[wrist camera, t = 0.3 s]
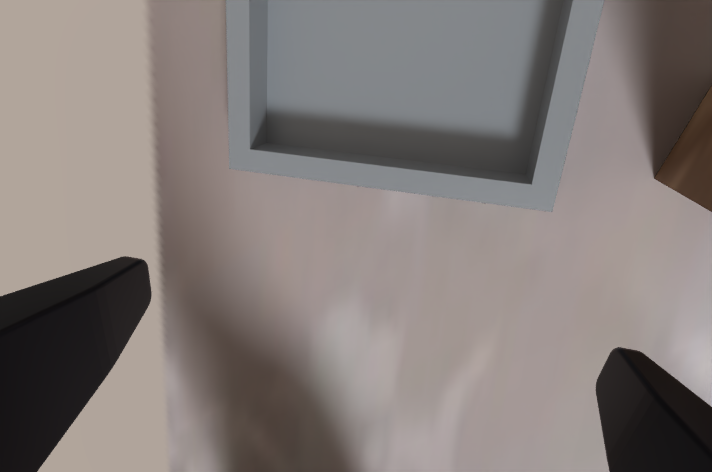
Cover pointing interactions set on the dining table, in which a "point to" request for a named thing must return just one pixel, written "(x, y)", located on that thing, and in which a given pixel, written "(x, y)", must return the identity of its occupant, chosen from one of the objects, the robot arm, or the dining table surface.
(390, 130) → the grey tray
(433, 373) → the dining table surface
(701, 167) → the walnut block
